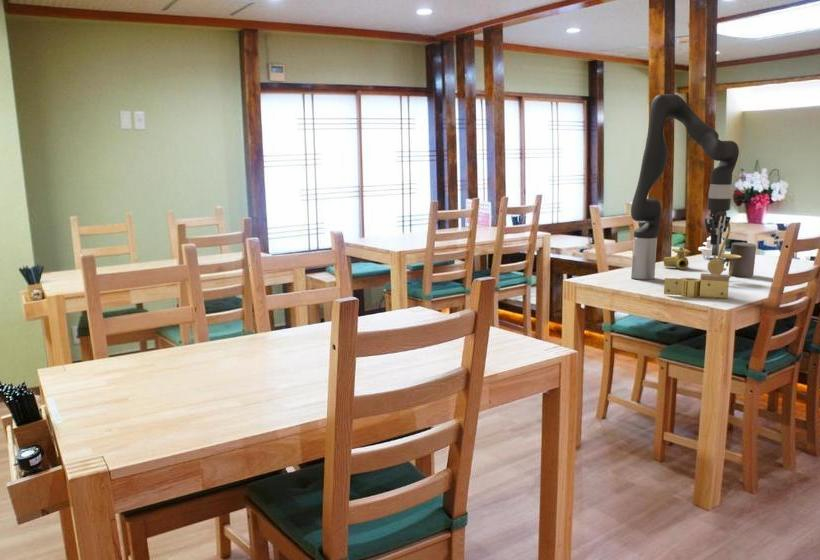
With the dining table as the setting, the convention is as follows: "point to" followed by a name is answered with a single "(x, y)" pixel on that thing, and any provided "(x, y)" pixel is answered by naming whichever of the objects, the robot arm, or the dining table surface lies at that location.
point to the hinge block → (699, 286)
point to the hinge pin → (716, 247)
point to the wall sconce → (717, 265)
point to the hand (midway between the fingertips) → (715, 244)
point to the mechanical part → (710, 248)
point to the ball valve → (677, 259)
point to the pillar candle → (743, 259)
